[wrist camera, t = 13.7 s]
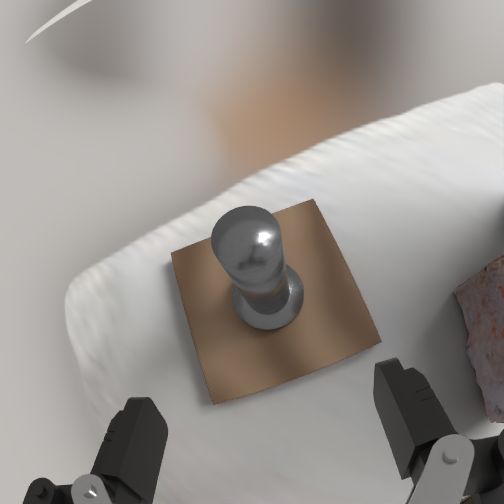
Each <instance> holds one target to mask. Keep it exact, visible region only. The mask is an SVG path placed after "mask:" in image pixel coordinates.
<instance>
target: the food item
mask: <svg viewBox="0 0 504 504" xmlns="http://www.w3.org/2000/svg"><path fill="white" fill-rule="evenodd" d="M453 292H454V294H455V296H456V298H457V300H458V302H459V304H460V306H461V308H462V310H463V312H464V315H463V316H464V319H465V323H466V327H467V330H468V333H469V339H468V343H467V347H466V349H467V351H466V354H467V357H468V358H469V360H470V363H471V366H472V367H473V368H474V369H475V370H476V383H477V384H478V385H479V387H480V388H481V389H482V394H483V398H484V400H485V403H484V405H485V407H486V413H487V414H486V416H488V417H489V420H490V422H491V423H493V422H494V421H496V422H497V423H504V255H503V256H501V257H500V258H498V259H496V260H494V261H492V262H491V263H489V264H488V265H487V266H486V267H485V268H484V269H483V270H481V271H480V272H479V273H478V274H476V275H474V276H473V277H472V278H471V279H469V280H468V281H467V282H465V283H464V284H462V285H460V286H458V287H457V288H456V289H455V290H454V291H453Z"/></svg>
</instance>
